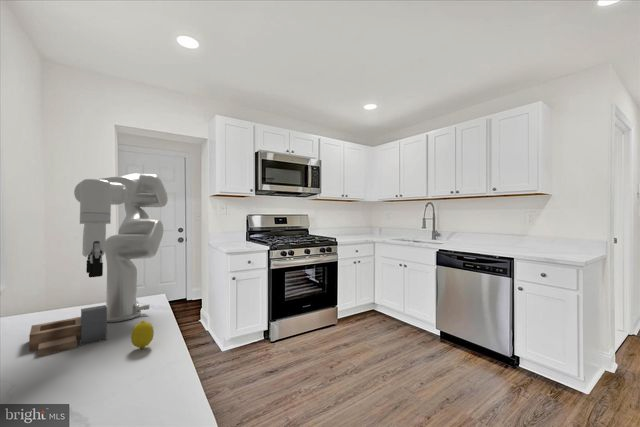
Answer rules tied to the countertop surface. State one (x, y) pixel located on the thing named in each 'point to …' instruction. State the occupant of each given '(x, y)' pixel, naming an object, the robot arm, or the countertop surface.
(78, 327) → the socket
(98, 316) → the bracket
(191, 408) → the countertop surface
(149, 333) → the lemon
